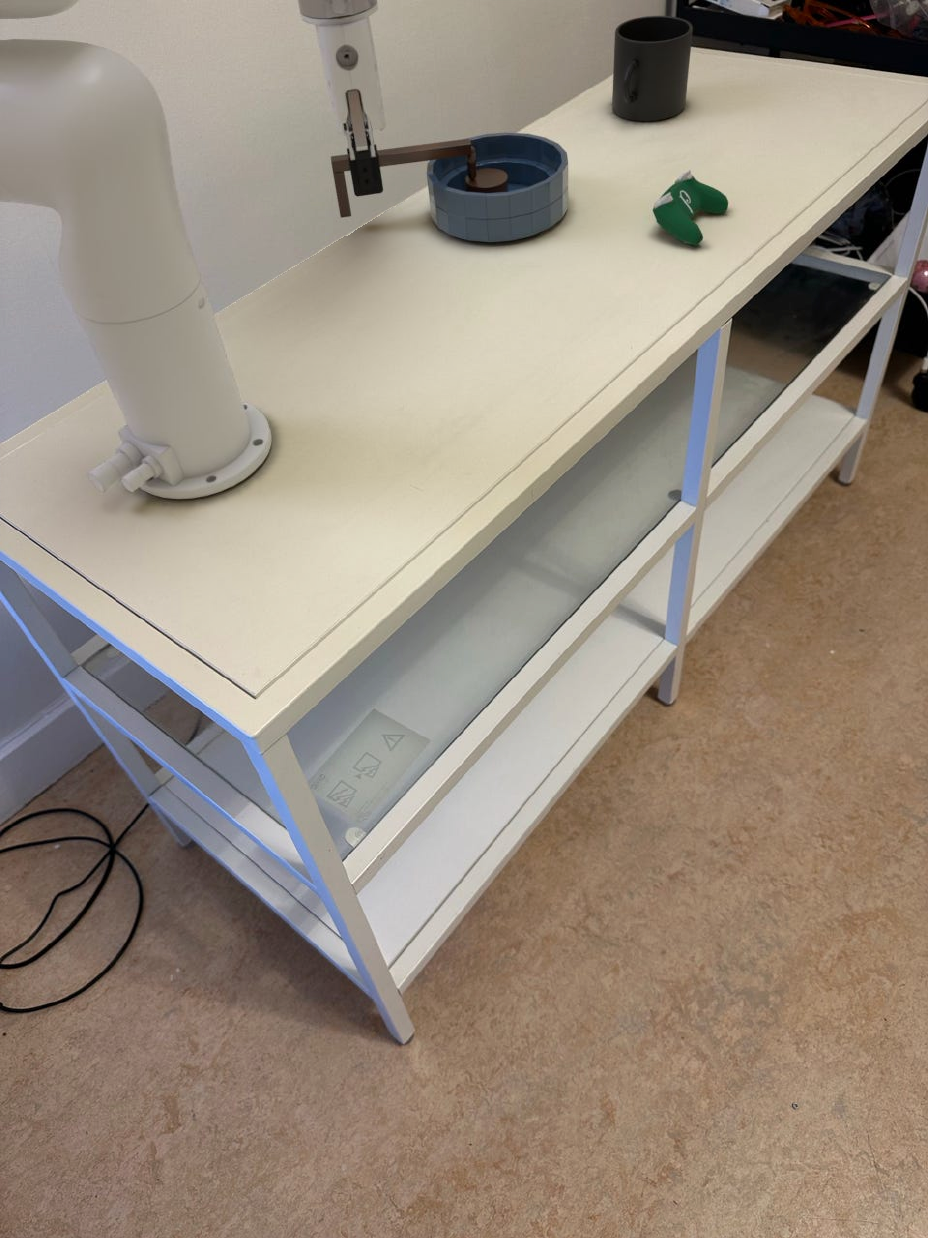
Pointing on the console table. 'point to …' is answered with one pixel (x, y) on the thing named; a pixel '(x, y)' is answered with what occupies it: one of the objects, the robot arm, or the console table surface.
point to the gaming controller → (687, 207)
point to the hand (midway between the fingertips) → (368, 187)
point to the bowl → (501, 215)
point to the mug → (651, 67)
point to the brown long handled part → (474, 181)
